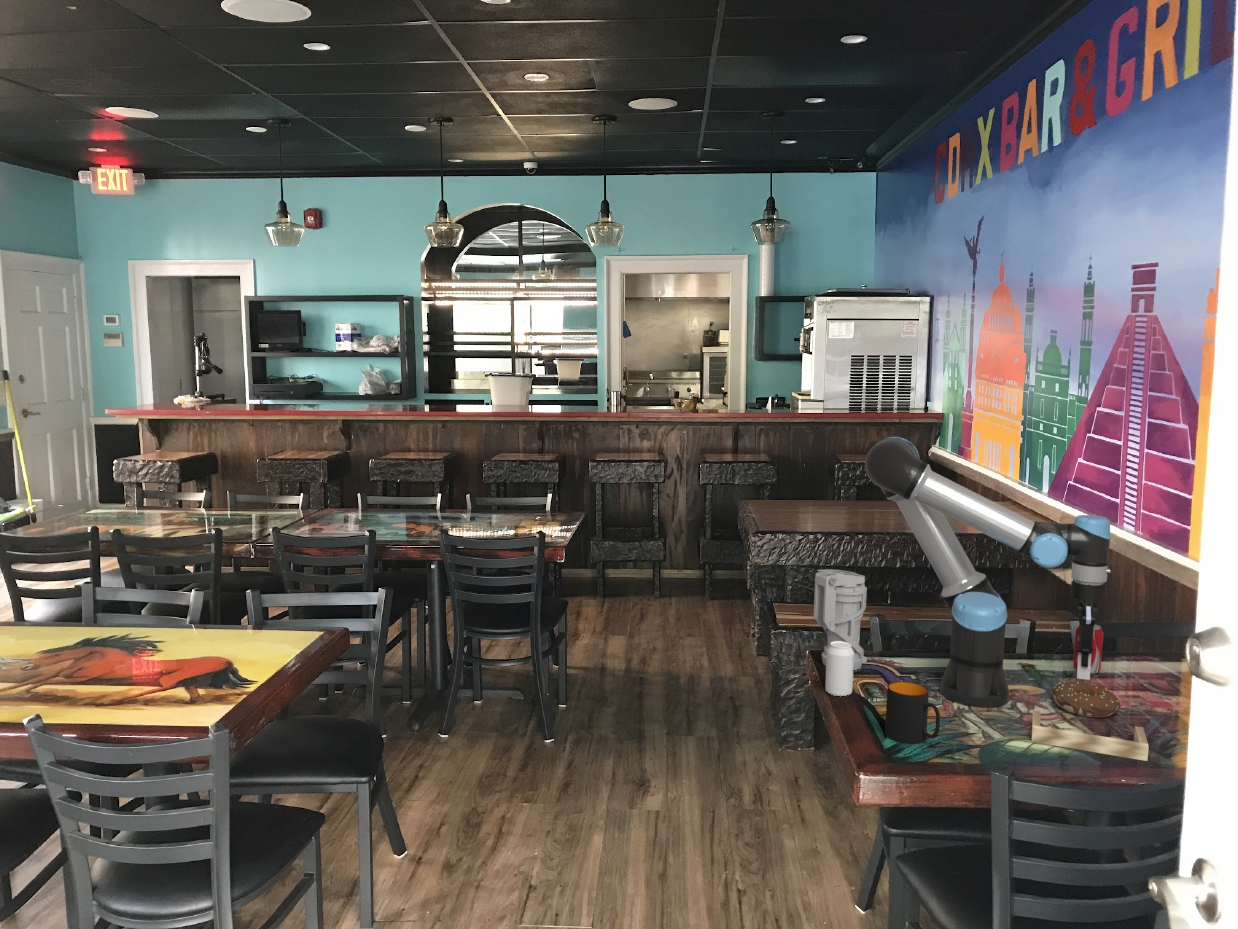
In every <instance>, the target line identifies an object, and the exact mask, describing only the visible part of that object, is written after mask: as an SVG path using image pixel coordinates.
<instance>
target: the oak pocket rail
mask: <svg viewBox="0 0 1238 929" xmlns="http://www.w3.org/2000/svg"><path fill="white" fill-rule="evenodd" d="M1144 729H1145V728H1144V727H1143V726H1136V725H1134V731H1133V732H1134V733H1133V734H1134V735H1133V740H1128V739H1121V738H1115V737H1108V736H1103V735H1102V736H1101V735H1097V734H1095V735H1094V734H1090V733H1083V732H1079V731H1071V730H1066V729H1065V730H1064V729H1059V728H1053V727H1048V726H1041V710H1035V709H1033V710H1032V716H1031V742H1032V743H1033V742H1034V743H1038V744H1044V745H1045V744H1046V745H1051V746H1057V747H1060V748H1066V749H1067V748H1068V749H1073V750H1074V749H1075V750H1079V751H1086V752H1091V753H1098V754H1103V755H1111V756H1116V757H1120V758H1121V757H1122V758H1128V759H1132V760H1138V761H1139V760H1140V761H1145V762H1148V759H1149V758H1148V757H1149V746H1150V745H1149V743H1148V739H1147V736H1146V733H1145V730H1144Z"/></svg>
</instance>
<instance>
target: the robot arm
mask: <svg viewBox="0 0 1238 929" xmlns="http://www.w3.org/2000/svg"><path fill="white" fill-rule="evenodd" d="M864 469H865V472H866V475H867V477H868V478H869V479H870V481H871V482H872V483H873V484H874V485H876V486H877V487H879V488H880V489H881V491H882V492H883V494H884V496H885V497H886V499H887V500H889V501H893V502H895V503H896V505H897V506H898V509H899V511H900V512H901V514H902V515H903V517H904V519H905V520H906V522H907V524H908V526H909V528H910V530H911V531H912V533H913V535H914V537H915V539H916V540H917V542H918V544H919V546H920V548H921V549H922V551H923V553H924V555H925V556H926V558H927V560H928V562H929V563H930V565H931V567H932V569H933V570H934V573H935V574H936V576H937V578H938V579H939V580H938V581H940V583H941V585H942V591H941V593H940V595H941V598H942V599H943V601H944V603H945V605H946V606H947V608H948V609H949V612H950V613H951V628H950V629H951V631H950V632H951V633H950V634H951V635H950V650H949V661H948V663H947V666H946V667H945V671H944V672H943V675H942V677H941V679H940V685H939V693H940V694H941V696H943V697H944V698H946V699H948V700H950V701H952V702H954V703H959V704H961V705H966V706H971V707H979V708H995V707H1002V706H1004V705H1007V704H1008V702H1009V700H1010V690H1009V689H1010V688H1009V684H1008V681H1007V677H1006V674H1005V671H1004V653H1005V639H1006V638H1005V637H1006V623H1007V622H1006V621H1007V619H1008V610H1007V605H1006V603H1005V601H1004V600H1003V599H1002V597H1001V596H1000V594H999V593H998V592H997V591H996V590H995V589H994V588H993V586H992V584H991V583H990V580H989V579H988V577H987V575H986V574H985V573H981V572H979V571H977V570H975V569H976V568H975V567H974V565H973V564H972V562H971V560H970V558H969V556H968V555H967V553H966V551H965V550H964V547H963V546H962V544H961V543H960V541H959V539H958V538H957V536H956V534H955V532H954V530H953V529H952V528H953V527H951V525H950V523H949V522H948V520H947V518H946V516H945V515H947V516H948V517H951V518H952V519H953V520H954V519H955V520H957V521H958V522H960V523H962V524H964V525H966V526H968V527H970V528H972V529H974V530H976V531H978V532H980V533H982V534H984V535H986V536H988V537H990V538H992V539H993V540H996V541H998V542H1000V543H1001V544H1004V545H1006V546H1007V547H1010V548H1012V549H1013V550H1015V551H1018V552H1019V553H1021V554H1022V555H1025V556H1027V557H1028V558H1030V559H1031V560H1032V561H1033V562H1035V564H1036V565H1039V566H1040V567H1043V568H1045V569H1053V568H1057V567H1059V566H1061V565H1062V564H1063V563H1065V561H1066V560H1067V558H1068V556H1072V562H1071V573H1070V574H1071V579H1072V580H1071V583H1070V596H1071V597H1073V598H1075V599H1076V600H1081V603H1080V602H1078V603H1077V611H1078V618H1077V620H1078V626H1079V624H1080V626H1079V641H1078V644H1079V646H1078V648H1079V649H1076V652H1078V665H1077V670H1076V679H1079V680H1085V681H1086V680H1087V681H1090V680H1091V674H1090V667H1091V653H1092V651H1094V648H1092V642H1093V630H1094V626H1095V624H1096V619H1097V618H1096V617H1097V615H1098V607H1097V606H1098V605H1097V604H1095V602H1102V601H1105V600H1106V599H1107V589H1108V585H1107V584H1106V582H1107V581H1108V574H1110V573H1111V572H1112V571H1111V569H1110V568H1108V567H1109V558H1110V544H1111V521H1110V520H1109V519H1108V518H1107V517H1105V516H1100V515H1093V514H1079V515H1077V516H1075V519H1074V521H1073V522H1071V523H1062V522H1061V523H1060V522H1049V521H1048V522H1047V521H1037V520H1030V519H1029V518H1027V517H1025V516H1022V515H1021V514H1019V513H1018V512H1017V513H1016V512H1014V511H1012V510H1010V509H1008V508H1007V507H1006V506H1002V505H1001V504H999V503H997V502H995V501H993V500H991V499H989V498H987V497H985V496H983V495H980V494H979V493H978V492H975V491H973V490H970V489H969V488H967V487H966V486H962V485H961V484H959V483H956V482H955V481H954V480H952V479H949V478H947V477H945V476H943V475H941V474H938V473H937V472H935V471H933V470H932V468H931V465H930V464H929V463H927V462H925V461H924V460H922V459H920V455H919V451H918V449H917V448H916V446H915V445H914V444H913V443H912V442H910V441H909V440H908V439H906V438H902V437H900V436H889V437H886V438H884V439H881V440H880V441H878V442H876V443H875V445H874V446H872V447H871V449H870V450H869V451H868V452H867V455H866V457H865V460H864Z"/></svg>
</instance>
